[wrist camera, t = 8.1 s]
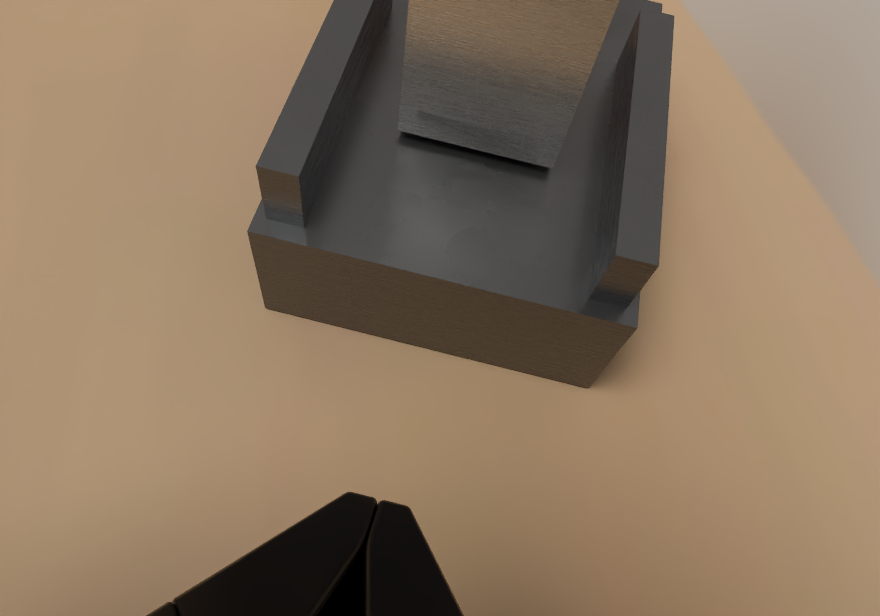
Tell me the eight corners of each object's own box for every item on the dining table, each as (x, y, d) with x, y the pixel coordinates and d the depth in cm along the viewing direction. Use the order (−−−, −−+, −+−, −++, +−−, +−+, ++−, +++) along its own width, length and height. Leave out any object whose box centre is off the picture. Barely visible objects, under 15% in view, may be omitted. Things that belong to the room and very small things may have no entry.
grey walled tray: (587, 388, 20) (670, 287, 15) (265, 308, 20) (235, 179, 15) (621, 92, 26) (687, -52, 21) (376, 31, 27) (383, -126, 21)
